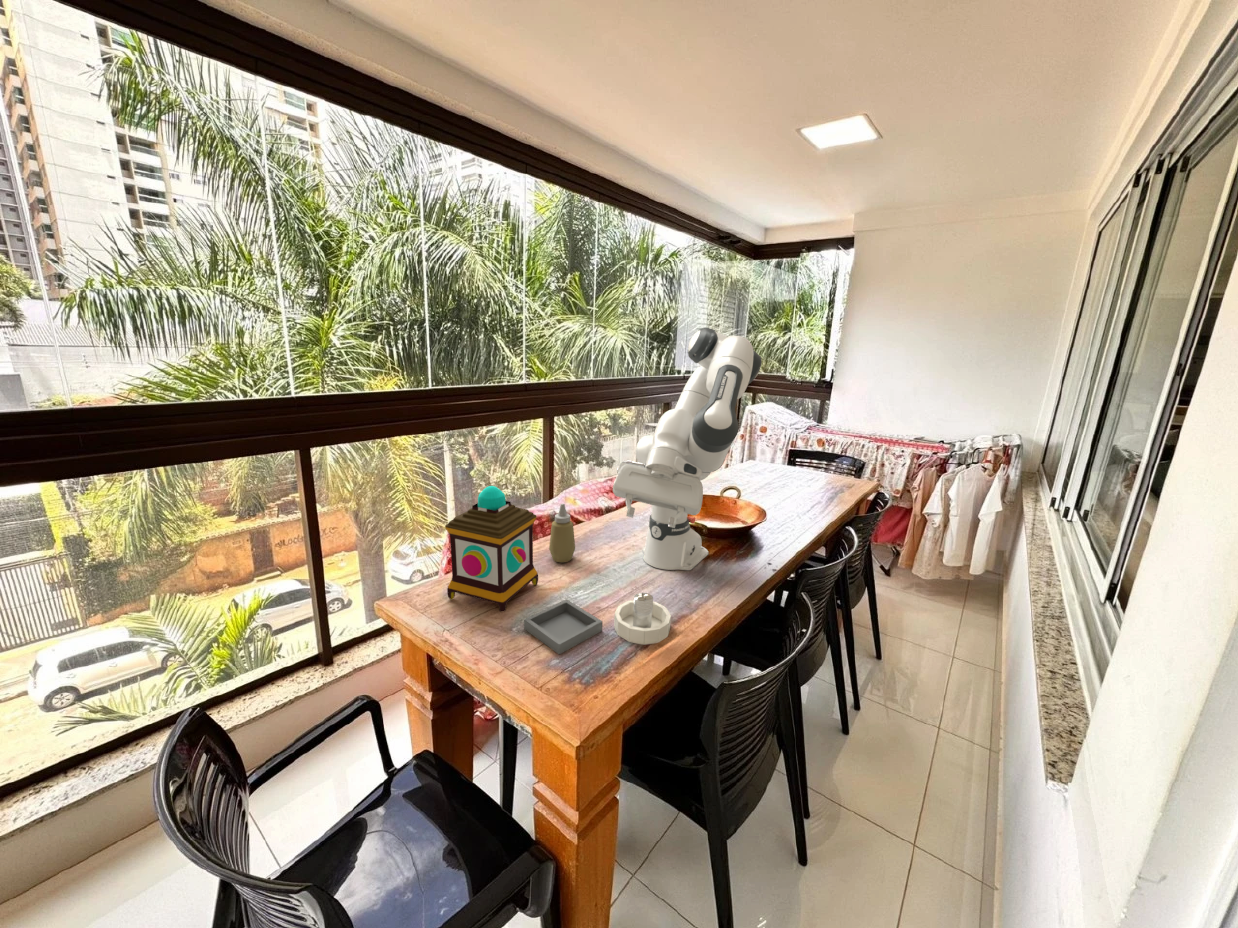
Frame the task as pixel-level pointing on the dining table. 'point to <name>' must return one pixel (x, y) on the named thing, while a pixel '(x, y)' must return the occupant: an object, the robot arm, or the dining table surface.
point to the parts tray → (562, 626)
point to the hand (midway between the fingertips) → (650, 521)
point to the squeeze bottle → (562, 537)
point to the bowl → (642, 635)
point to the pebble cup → (642, 610)
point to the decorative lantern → (492, 549)
